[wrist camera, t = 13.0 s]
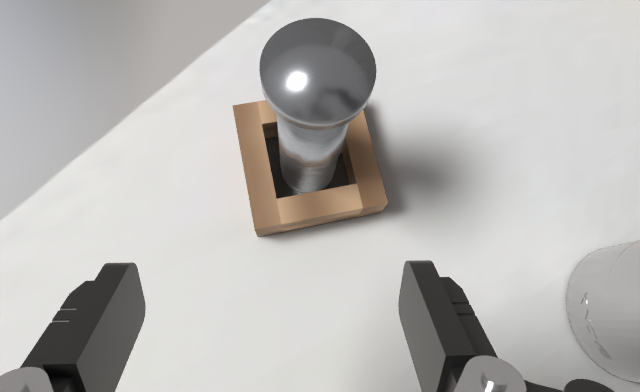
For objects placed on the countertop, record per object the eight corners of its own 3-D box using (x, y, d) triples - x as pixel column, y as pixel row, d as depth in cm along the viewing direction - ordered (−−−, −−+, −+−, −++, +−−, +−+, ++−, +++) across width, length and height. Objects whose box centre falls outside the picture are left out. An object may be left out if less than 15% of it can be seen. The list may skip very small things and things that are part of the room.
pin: (334, 129, 32) (360, 11, 20) (349, 193, 31) (388, 109, 18) (266, 141, 32) (250, 26, 19) (279, 207, 30) (271, 129, 18)
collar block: (351, 102, 33) (356, 85, 31) (380, 212, 31) (388, 203, 28) (236, 121, 32) (232, 105, 29) (257, 236, 30) (254, 229, 27)
